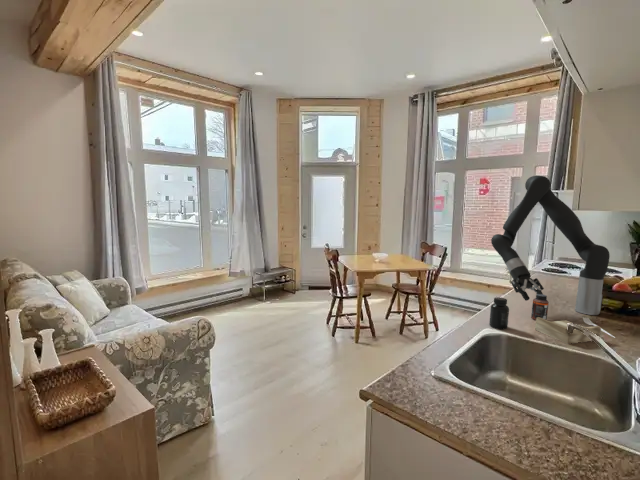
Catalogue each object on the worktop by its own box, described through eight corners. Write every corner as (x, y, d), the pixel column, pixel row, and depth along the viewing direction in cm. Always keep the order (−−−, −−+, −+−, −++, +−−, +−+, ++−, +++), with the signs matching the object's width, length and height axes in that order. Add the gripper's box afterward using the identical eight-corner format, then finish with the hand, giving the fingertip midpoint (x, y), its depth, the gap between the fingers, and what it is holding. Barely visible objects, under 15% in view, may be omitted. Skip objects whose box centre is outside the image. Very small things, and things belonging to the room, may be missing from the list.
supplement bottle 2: (548, 322, 153) (552, 297, 152) (534, 321, 154) (536, 296, 153) (543, 318, 159) (546, 293, 158) (528, 316, 160) (531, 292, 159)
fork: (610, 339, 139) (611, 334, 138) (580, 320, 158) (581, 316, 158) (619, 340, 138) (620, 335, 138) (588, 321, 158) (589, 317, 158)
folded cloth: (564, 327, 148) (566, 314, 147) (599, 340, 135) (601, 327, 134) (535, 329, 144) (536, 317, 143) (567, 343, 130) (569, 330, 130)
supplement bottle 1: (505, 325, 148) (508, 297, 146) (508, 330, 141) (511, 302, 140) (487, 322, 150) (490, 295, 149) (490, 328, 144) (492, 299, 142)
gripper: (510, 265, 163) (528, 296, 154) (534, 264, 167) (553, 294, 157) (500, 273, 169) (517, 304, 159) (524, 273, 173) (541, 302, 163)
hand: (535, 299), depth 158 cm, fingers open, 8 cm apart
